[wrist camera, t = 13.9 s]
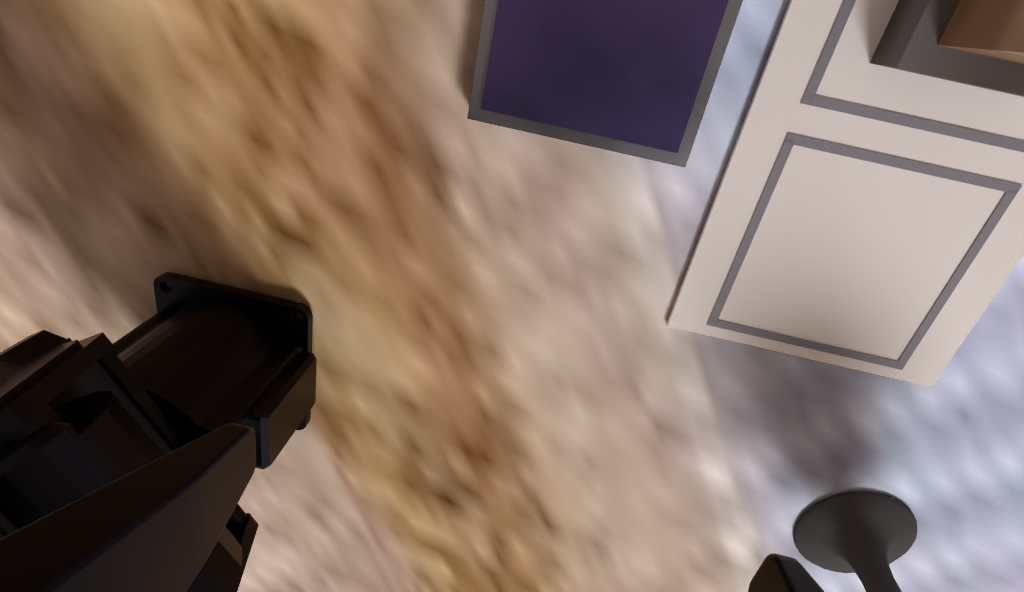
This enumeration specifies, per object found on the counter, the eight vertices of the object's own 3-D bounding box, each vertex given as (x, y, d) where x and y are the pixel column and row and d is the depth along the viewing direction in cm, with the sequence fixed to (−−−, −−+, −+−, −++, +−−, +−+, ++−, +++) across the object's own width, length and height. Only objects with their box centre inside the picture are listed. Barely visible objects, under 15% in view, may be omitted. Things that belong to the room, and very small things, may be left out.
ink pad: (473, 113, 18) (465, 119, 17) (520, -196, 14) (515, -212, 13) (680, 159, 18) (685, 169, 17) (782, -141, 14) (798, -154, 13)
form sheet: (666, 323, 21) (667, 326, 21) (877, -230, 13) (883, -234, 13) (928, 384, 21) (931, 388, 20) (1292, -145, 13) (1304, -147, 13)
